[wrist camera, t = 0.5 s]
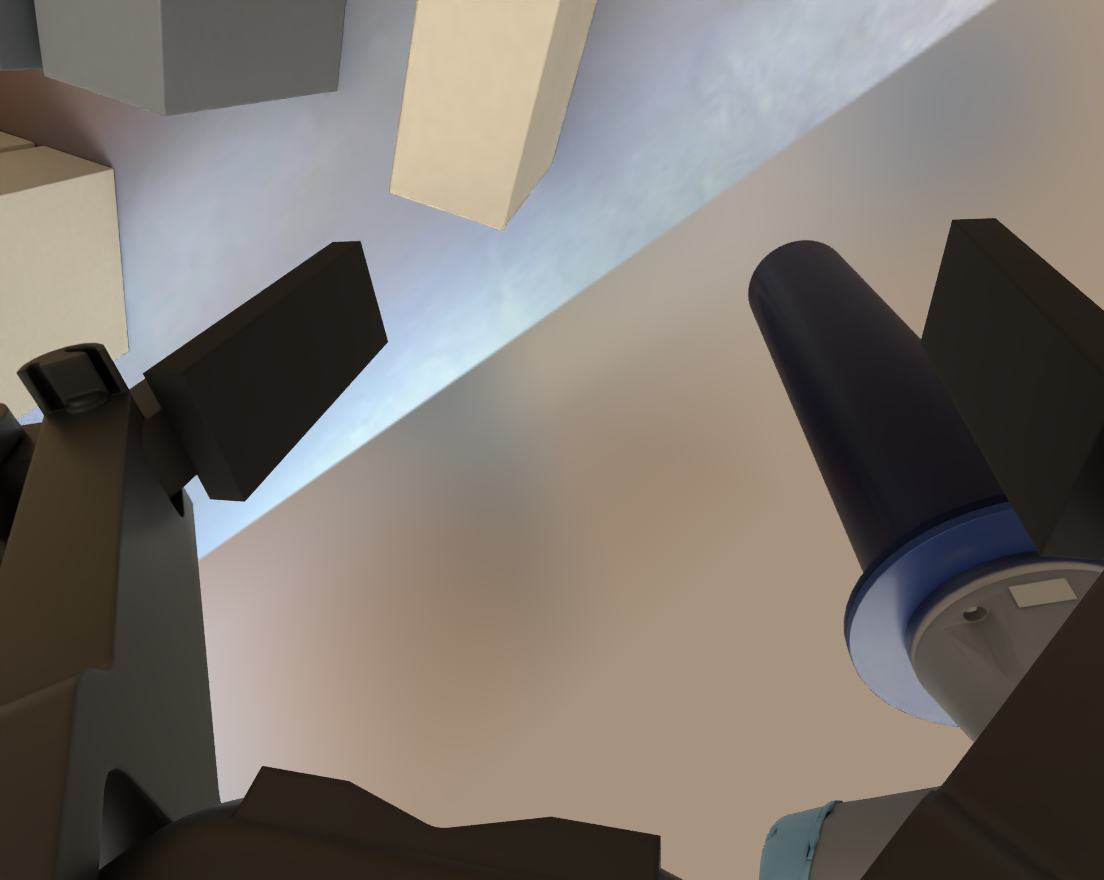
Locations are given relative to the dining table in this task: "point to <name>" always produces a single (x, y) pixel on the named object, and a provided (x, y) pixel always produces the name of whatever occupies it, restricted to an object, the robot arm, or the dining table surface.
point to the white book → (486, 101)
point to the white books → (55, 260)
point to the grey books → (178, 49)
